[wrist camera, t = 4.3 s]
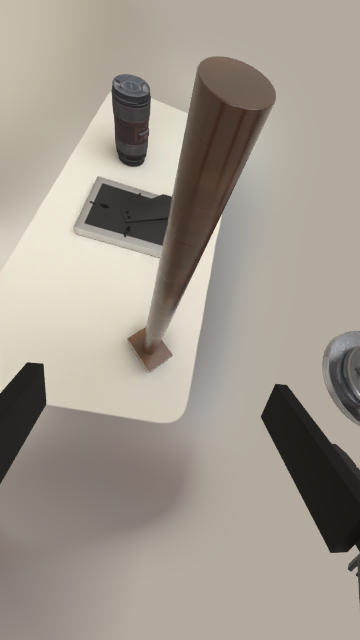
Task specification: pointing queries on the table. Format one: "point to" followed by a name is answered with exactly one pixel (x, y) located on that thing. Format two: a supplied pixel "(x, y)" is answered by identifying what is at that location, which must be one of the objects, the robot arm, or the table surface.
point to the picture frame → (125, 217)
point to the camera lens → (131, 118)
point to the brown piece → (203, 183)
